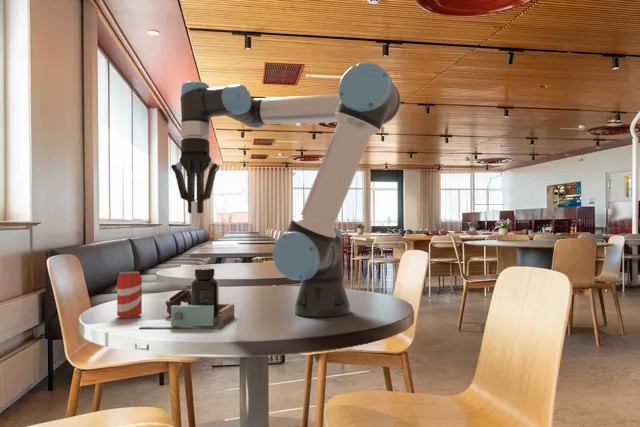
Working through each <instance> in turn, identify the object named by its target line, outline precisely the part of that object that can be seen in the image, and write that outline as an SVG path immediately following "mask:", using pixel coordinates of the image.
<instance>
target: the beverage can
mask: <svg viewBox="0 0 640 427" xmlns="http://www.w3.org/2000/svg"><path fill="white" fill-rule="evenodd" d="M142 281H143V277H142V275H141V274H140V271H120V272H119V275H118V276H117V282H116V284H117V285H116V292H117V294H116V296H117V297H116V299H117V302H116V314H117V317H119V318H120V319H134V318H138V317H139V316H140V315H142V314H143V311H142V310H143V307H142V306H143V305H142V304H143V303H142V302H143V300H142V299H143V298H142V297H143V287H142V285H143V282H142Z"/></svg>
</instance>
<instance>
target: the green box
mask: <svg viewBox="0 0 640 427" xmlns="http://www.w3.org/2000/svg"><path fill="white" fill-rule="evenodd" d="M213 325H214V306H186V305H181V306H171V316H170V326H213Z"/></svg>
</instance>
